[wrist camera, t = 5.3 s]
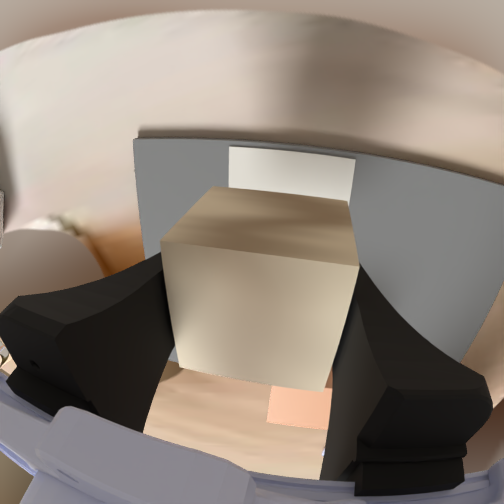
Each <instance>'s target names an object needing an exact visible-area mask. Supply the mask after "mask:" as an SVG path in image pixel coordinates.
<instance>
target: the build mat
mask: <svg viewBox="0 0 504 504" xmlns="http://www.w3.org/2000/svg"><path fill="white" fill-rule="evenodd" d="M133 151H134V164H135V176H136V187H137V197H138V206H139V215H140V223H141V231H142V238H143V246H144V252H145V259H148V258H150V257H152V256H154V255H155V254H157V253H159V252H161V247H160V240H161V239H162V238H163V236H164V235H165V234H166V233H167V232H168V231H169V230H170V229H171V228H172V227H173V226H174V225H175V224H176V223H177V222H178V221H179V220H180V219H181V218H182V217H183V216H184V215H185V214H186V213H187V212H188V211H189V209H190V208H191V207H192V206H193V205H194V204H195V203H196V202H197V201H198V200H199V199H200V198H201V197H202V196H203V195H204V194H205V193H206V192H207V191H208V190H209V189H210V188H211V187H213V186H217V187H229V188H240V189H251V190H261V191H271V192H280V193H289V194H298V195H307V196H315V197H323V198H330V199H338V200H345V201H347V202H348V206H349V211H350V216H351V221H352V226H353V232H354V237H355V243H356V248H357V254H358V260H359V263H360V264H361V265H362V267H363V268H364V270H365V271H366V273H367V274H368V275H369V277H370V278H371V280H372V281H373V282H374V284H375V285H376V286H377V288H378V289H379V290H380V292H381V293H382V294H383V295H384V297H385V298H386V299H387V300H388V302H389V303H390V304H391V305H392V306H393V307H394V309H395V310H396V311H397V312H398V313H399V314H400V315H401V316H402V317H403V318H404V319H405V320H406V321H407V322H408V323H409V324H410V325H411V326H412V327H413V328H414V329H415V330H416V331H417V332H418V333H420V334H421V335H422V336H423V337H424V338H426V339H427V340H428V341H429V342H430V343H432V344H433V345H434V346H436V347H437V348H438V349H440V350H441V351H442V352H444V353H445V354H447V355H448V356H450V357H451V358H453V359H454V360H456V361H457V362H459V363H460V362H461V360H462V359H463V357H464V355H465V354H466V352H467V351H468V349H469V347H470V345H471V344H472V342H473V340H474V339H475V337H476V335H477V333H478V331H479V330H480V328H481V326H482V324H483V322H484V320H485V318H486V316H487V315H488V313H489V311H490V309H491V307H492V305H493V303H494V301H495V298H496V296H497V294H498V292H499V290H500V288H501V286H502V283H503V281H504V185H503V184H500V183H496V182H493V181H489V180H486V179H482V178H479V177H475V176H471V175H467V174H463V173H459V172H455V171H451V170H447V169H443V168H439V167H434V166H430V165H425V164H421V163H416V162H411V161H406V160H401V159H396V158H390V157H385V156H379V155H373V154H367V153H361V152H354V151H348V150H341V149H333V148H326V147H318V146H309V145H300V144H290V143H280V142H268V141H254V140H239V139H218V138H174V137H163V138H136V139H133ZM168 360H171V361H174V362H178V363H179V361H178V356H177V351H176V345H175V347H174V348H173V350H172V352H171V354H170V356H169V358H168Z"/></svg>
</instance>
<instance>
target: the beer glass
mask: <svg viewBox="0 0 504 504" xmlns="http://www.w3.org/2000/svg"><path fill="white" fill-rule="evenodd" d="M11 359H12V357H11V355H10V354H9V352H8V350H7V348H6V347H5V345H4V343H3V341H2V339H1V337H0V369H1V367H2V366H4V365H5V364H6V363H7V362H9V361H10V360H11Z"/></svg>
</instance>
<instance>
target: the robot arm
mask: <svg viewBox="0 0 504 504" xmlns="http://www.w3.org/2000/svg"><path fill="white" fill-rule="evenodd" d="M359 266H360V267H359V271H358V275H357V279H356V283H355V287H354V291H353V295H352V299H351V303H350V306H349V310H348V314H347V317H346V321H345V324H344V328H343V331H342V335H341V338H340V341H339V345H338V348H337V351H336V354H335V357H334V361H333V364H332V377H333V380H332V398H331V408H330V417H329V425H328V432H327V439H326V446H325V448H324V450H323V451H322V456H324V458H323V463H322V469H321V474H320V479H319V480H312V479H302V478H293V477H285V476H277V475H270V474H264V473H258V472H252V471H247V470H245V469H243V468H241V467H240V466H238V465H236V464H234V463H232V462H230V461H228V460H226V459H223V458H220V457H217V456H214V455H211V454H208V453H205V452H202V451H199V450H196V449H192V448H188V447H185V446H181V445H178V444H174V443H171V442H168V441H164V440H161V439H158V438H155V437H152V436H149V435H146V434H143V430H144V426H145V422H146V419H147V416H148V413H149V410H150V406H151V403H152V400H153V397H154V395H155V392H156V389H157V386H158V383H159V381H160V378H161V376H162V373H163V370H164V368H165V366H166V363H167V361H168V358H169V356H170V354H171V352H172V350H173V348H174V347H175V340H174V334H173V329H172V323H171V317H170V311H169V305H168V298H167V292H166V285H165V278H164V271H163V263H162V255H161V252H159V253H157V254H155V255H154V256H152V257H150V258H148V259H146V260H144V261H142V262H140V263H138V264H136V265H134V266H131V267H129V268H127V269H125V270H123V271H121V272H118V273H116V274H113V275H111V276H108V277H105V278H103V279H100V280H97V281H94V282H90V283H87V284H84V285H80V286H77V287H73V288H69V289H64V290H60V291H54V292H49V293H42V294H34V295H25V296H18V297H17V298H16V299H14V300H13V301H12V302H11V303H10V304H9V305H8V306H7V307H6V308H5V309H4V310H3V311H2V312H1V313H0V337H1V339H2V341H3V343H4V345H5V347H6V348H7V350H8V352H9V354H10V355H11V357H12V359H13V360H14V362H15V363H16V365H17V367H16V369H15V370H14V371H13V372H12V374H11V375H10V376H9V377H8V376H6V375H5V374H3V373H1V372H0V451H2V452H3V453H4V454H5V455H6V456H8V457H9V458H10V459H11V460H13V461H14V462H15V463H16V464H18V465H19V466H20V467H22V468H23V469H25V470H26V471H27V472H29V473H30V474H32V475H33V476H34V478H33V480H32V482H31V484H30V486H29V488H28V489H27V491H26V493H25V494H24V497H23V498H22V500H21V502H20V504H504V458H502V459H501V460H499V461H497V462H496V463H495V464H493V466H491V467H490V469H489V470H485V471H480V472H475V473H469V474H464V469H463V461H462V458H463V457H465V456H466V454H467V448H466V442H467V441H468V440H469V439H470V438H471V437H472V436H473V435H474V434H475V433H476V432H477V431H478V430H479V429H480V428H481V427H482V426H483V425H484V424H485V422H486V421H487V420H488V419H489V417H490V415H491V412H492V410H493V402H492V399H491V396H490V393H489V389H488V386H487V383H486V380H485V378H484V376H482V375H480V374H478V373H477V372H475V371H473V370H471V369H469V368H468V367H466V366H464V365H462V364H460V363H459V362H457V361H456V360H454V359H453V358H451V357H450V356H448V355H447V354H445V353H444V352H442V351H441V350H440V349H438V348H437V347H436V346H434V345H433V344H432V343H430V342H429V341H428V340H427V339H426V338H424V337H423V336H422V335H421V334H420V333H418V332H417V331H416V330H415V329H414V328H413V327H412V326H411V325H410V324H409V323H408V322H407V321H406V320H405V319H404V318H403V317H402V316H401V315H400V314H399V313H398V312H397V311H396V310H395V309H394V307H393V306H392V305H391V304H390V303H389V302H388V300H387V299H386V298H385V297H384V295H383V294H382V293H381V292H380V290H379V289H378V288H377V286H376V285H375V284H374V282H373V281H372V280H371V278H370V277H369V275H368V274H367V273H366V271H365V270H364V268H363V267H362V265H361V264H360V263H359Z"/></svg>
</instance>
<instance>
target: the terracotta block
mask: <svg viewBox="0 0 504 504" xmlns="http://www.w3.org/2000/svg"><path fill="white" fill-rule="evenodd" d="M332 380H333V377H332V367H331V370H330V373H329V376H328V379H327V382H326V385H325V388H324V391H323V392H316V391H308V390H300V389H292V388H285V387H279V386H272V388H271V395H270V402H269V408H268V415H267V422H270V423H276V424H283V425H290V426H298V427H306V428H315V429H325V430H328V425H329V417H330V408H331V398H332Z"/></svg>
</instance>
